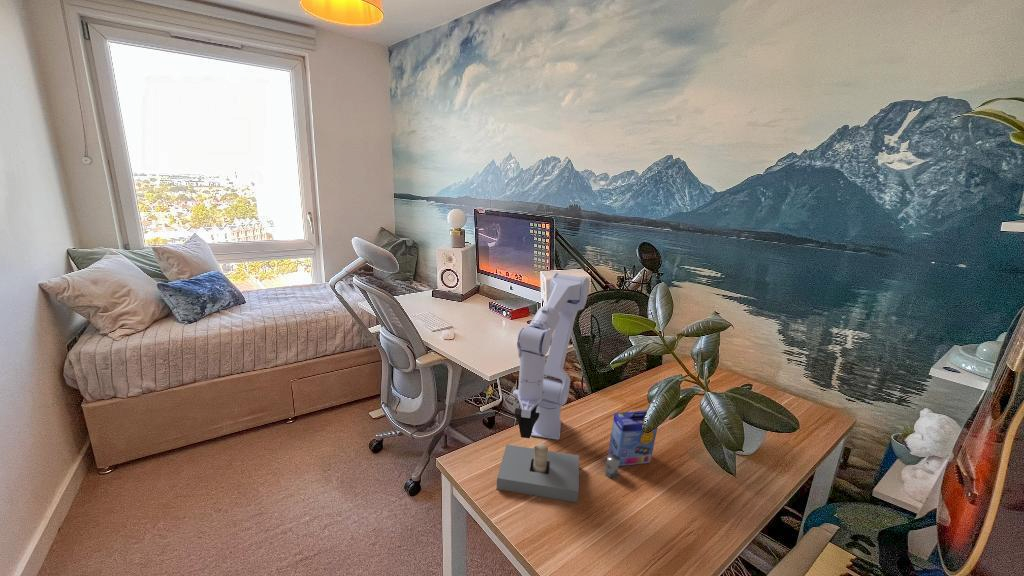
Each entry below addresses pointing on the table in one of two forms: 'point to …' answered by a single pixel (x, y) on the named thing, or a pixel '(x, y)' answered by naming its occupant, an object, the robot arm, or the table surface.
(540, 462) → the birch pin
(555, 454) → the hole plate
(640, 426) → the ink cartridge box
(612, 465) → the short steel pin
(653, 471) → the table surface
